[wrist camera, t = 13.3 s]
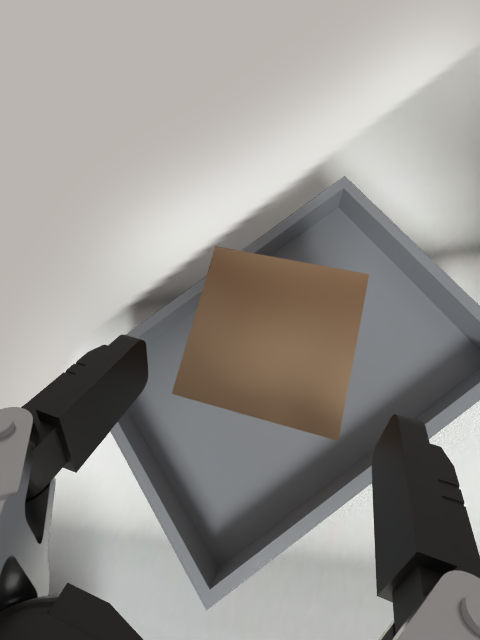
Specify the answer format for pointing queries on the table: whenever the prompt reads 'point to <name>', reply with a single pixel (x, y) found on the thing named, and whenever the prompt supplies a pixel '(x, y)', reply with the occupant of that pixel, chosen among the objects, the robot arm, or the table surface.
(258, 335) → the tan block
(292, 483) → the grey footed tray
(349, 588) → the table surface
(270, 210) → the table surface
